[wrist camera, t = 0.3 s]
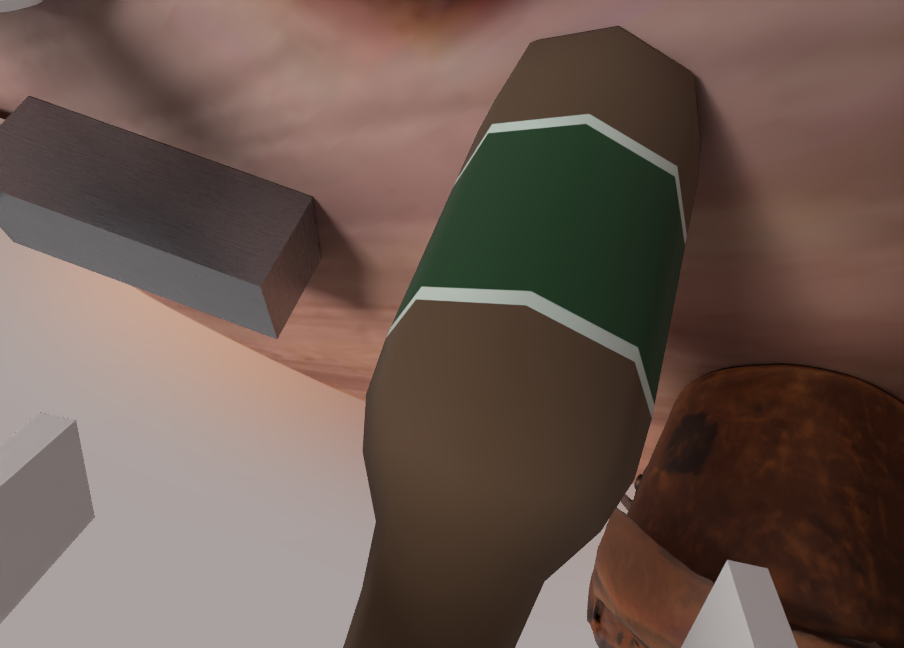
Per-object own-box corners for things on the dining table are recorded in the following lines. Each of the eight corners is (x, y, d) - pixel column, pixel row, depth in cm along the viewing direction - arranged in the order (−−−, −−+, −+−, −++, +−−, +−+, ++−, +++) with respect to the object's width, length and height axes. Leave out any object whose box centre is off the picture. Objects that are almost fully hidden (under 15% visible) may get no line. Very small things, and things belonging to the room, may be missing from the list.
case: (861, 277, 25) (840, 806, 17) (1068, 481, 32) (1123, 916, 24) (561, 358, 39) (473, 660, 31) (750, 485, 46) (718, 756, 39)
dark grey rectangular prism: (28, 96, 34) (-49, 174, 31) (312, 197, 33) (260, 286, 30) (75, 169, 39) (13, 242, 36) (321, 258, 38) (277, 339, 35)
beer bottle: (573, 213, 27) (361, 893, 16) (454, 84, 23) (68, 860, 12) (752, 149, 21) (613, 1136, 10) (633, -36, 18) (212, 1219, 7)
